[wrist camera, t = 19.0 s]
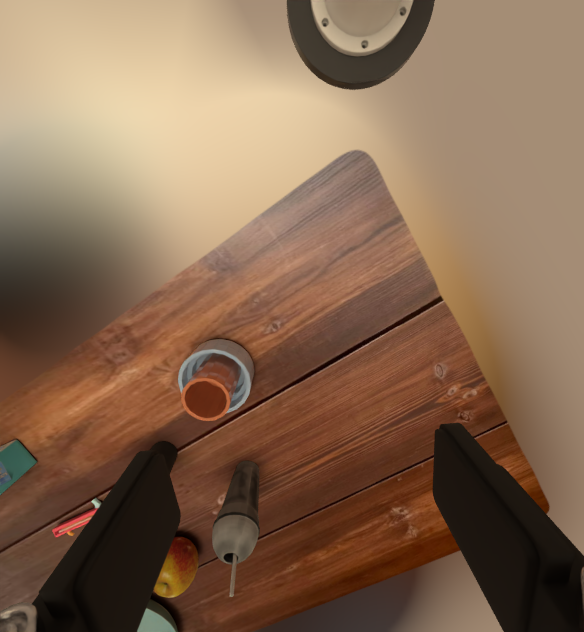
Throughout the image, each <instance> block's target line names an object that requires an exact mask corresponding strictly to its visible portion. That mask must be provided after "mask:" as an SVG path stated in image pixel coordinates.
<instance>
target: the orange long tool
mask: <svg viewBox="0 0 584 632" xmlns="http://www.w3.org/2000/svg"><path fill="white" fill-rule="evenodd" d="M92 503H93V504H94V505H95V508H94V509H91V510H89V511H87V512H85V513H83V514H81V515H78V516H76V517H74V518H72V519H70V520H68V521H65V522H63V523H61V524H59V525H58V526H57V527H55V528H54V529H53V530H52V531H53V533H54V535H55V537H58V536H60V535H62V534H64V533H68V534H69V535H71V536H72V535H74V533H73V532H72V531H71V530H73V529H75V528H78V527H80V526H82V525H84V524H86V523H88V522H89V521H90V519H91V518H92V516H93V515H94V514H95V512H96V511H97V509H98V508H99V506H100V505H101V504H102V503H101V502H100V501H99V500H98V499H97V498H95V499H94V500H92Z"/></svg>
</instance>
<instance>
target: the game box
mask: <svg viewBox="0 0 584 632" xmlns="http://www.w3.org/2000/svg"><path fill="white" fill-rule="evenodd" d="M36 463H37V461H36V460H35V459H34V458H33V457H32V455H31V454H30V453H29V452H28V451H27V450H26V449H25V448H24V447H23V445H22V444H21V443H20V442H19V441H18V440H14V441H11V442H9V443H7V444H5V445H2V446H0V495H1V494H2V493H3V492H4V491H6V490H7V489H8V488H9V487H10V486H11V485H12V484H13V483H15V482H16V481H17V480H18V479H19V478H20V477H21V476H22V475H24V474H25V473H26V472H27V471H28V470H29V469H30V468H31V467H33V466H34V465H35V464H36Z"/></svg>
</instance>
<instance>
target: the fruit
mask: <svg viewBox="0 0 584 632" xmlns="http://www.w3.org/2000/svg"><path fill="white" fill-rule="evenodd" d="M198 560H199V559H198V553H197V549H196V547H195V546H194V544H193V543H192V542H191V541H190V540H189V539H187V538H184V537H174V539H173V541H172V544H171V546H170V549H169V552H168V554H167V557H166V559H165V562H164V564H163V567H162V569H161V572H160V574H159V577H158V580H157V582H156V585H155V587H154V592H155V593H156V594H158V595H159V596H162V597H167V598H172V597H176V596H178V595H180V594H181V593H183V592H184V591H185V590H186V589H187V588H188V587H189V585H190V584H191V582H192V581H193V579H194V577H195V574H196V572H197V568H198Z"/></svg>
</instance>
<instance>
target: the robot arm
mask: <svg viewBox="0 0 584 632" xmlns="http://www.w3.org/2000/svg"><path fill="white" fill-rule="evenodd" d="M310 1H311V10H312V14H313V19H314V21H315V24H316V26H317V29H318V31H319V32H320V34H321V35H322V37H323V39H324V40H325V41H326V42H327V43H328V44H329V45H330V46H331V47H333V48H334V49H335V50H337V51H338V52H341V53H343V54H346V55H349V56H356V57H358V56H367V55H370V54H373V53H376V52H378V51H379V50H381V49H383V48H384V47H385V46H387V45H388V44H389V43H390V42H391V41H392V40H393V39H394V38H395V37H396V35H397V34H398V33H399V31H400V30H401V28H402V26H403V25H404V23H405V21H406V19H407V17H408V15H409V12H410V9H411V6H412V3H413V0H310ZM401 15H402V16H401ZM324 25H325V26H326V27H324ZM362 47H365V49H364V48H362ZM433 496H434V500H435V502H436V504H437V506H438V508H439V510H440V512H441V514H442V516H443V518H444V520H445V522H446V523H447V525H448V527H449V529H450V531H451V533H452V535H453V537H454V539H455V540H456V542H457V544H458V546H459V548H460V550H461V552H462V554H463V556H464V557H465V559H466V561H467V563H468V565H469V567H470V569H471V571H472V572H473V574H474V576H475V578H476V580H477V582H478V584H479V586H480V588H481V590H482V591H483V593H484V595H485V597H486V599H487V601H488V603H489V605H490V606H491V609H492V610H493V612H494V614H495V616H496V618H497V620H498V622H499V624H500V626H501V627H502V629H503V631H504V632H584V556H583V555H582V553H581V552H580V551H579V550H578V549H577V548H576V547H575V546H574V545H573V544H572V542H571V541H570V540H569V539H568V538H567V537H566V536H565V535H564V534H563V532H562V531H561V530H560V529H559V528H558V527H557V526H556V525H555V524H554V522H553V521H552V520H551V519H550V518H549V517H548V516H547V515H546V514H545V512H544V511H543V510H542V509H541V508H540V507H539V506H538V505H537V504H536V502H535V501H534V500H533V499H532V498H531V497H530V496H529V495H528V494H527V492H526V491H525V490H524V489H523V488H522V487H521V486H520V485H519V484H518V482H517V481H516V480H515V479H514V478H513V477H512V476H511V475H510V474H509V472H508V471H507V470H506V469H504V468H503V467H502V466H500V465H498V464H496V463H495V462H494V460H493V459H492V458H491V457H490V456H489V455H488V454H487V453H486V451H485V450H484V449H483V448H482V447H481V446H480V445H479V443H478V442H477V441H476V440H475V439H474V438H473V437H472V436H471V434H470V433H469V432H468V431H467V430H466V429H465V428H464V426H463V425H461V424H460V423H450V424H441V425H440V428H439V429H437V430H436V431H435V444H434V471H433ZM179 523H180V509H179V506H178V502H177V499H176V495H175V492H174V489H173V485H172V482H171V478H170V475H169V471H168V468H167V464H166V461H165V457H164V455H163V454H160V453H159V451H158V450H150V451H140V452H138V453H137V454H136V456H135V457H134V459H133V460H132V461H131V463H130V464H129V466H128V467H127V468H126V470H125V471H124V473H123V474H122V475H121V477H120V478H119V480H118V481H117V483H116V484H115V485H114V487H113V488H112V490H111V491H110V492H109V494H108V495H107V497H106V498H105V499H104V501H103V502H102V504H101V505H100V506H99V508H98V509H97V511H96V512H95V514H94V515H93V516H92V518H91V519H90V521H89V522H88V523H87V525H86V526H85V528H84V529H83V530H82V532H81V533H80V535H79V536H78V537H77V539H76V540H75V542H74V543H73V544H72V546H71V547H70V549H69V550H68V552H67V553H66V554H65V556H64V557H63V559H62V560H61V561H60V563H59V564H58V566H57V567H56V568H55V570H54V571H53V573H52V574H51V575H50V577H49V578H48V580H47V581H46V583H45V584H44V585H43V587H42V588H41V590H40V591H39V595H38V596H37V598H36V599H35V600H34V602H33V603H32V604H31V603H24V602H21V603H18V604H15V605H12V606H9V607H8V608H6V609H4V610H2V611H0V632H137V631H138V628H139V625H140V623H141V620H142V618H143V615H144V613H145V610H146V608H147V605H148V603H149V600H150V597H151V595H152V592H153V590H154V587H155V585H156V582H157V580H158V577H159V574H160V572H161V569H162V567H163V564H164V562H165V559H166V557H167V554H168V552H169V549H170V546H171V544H172V541H173V539H174V536H175V534H176V531H177V529H178V526H179Z"/></svg>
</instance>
